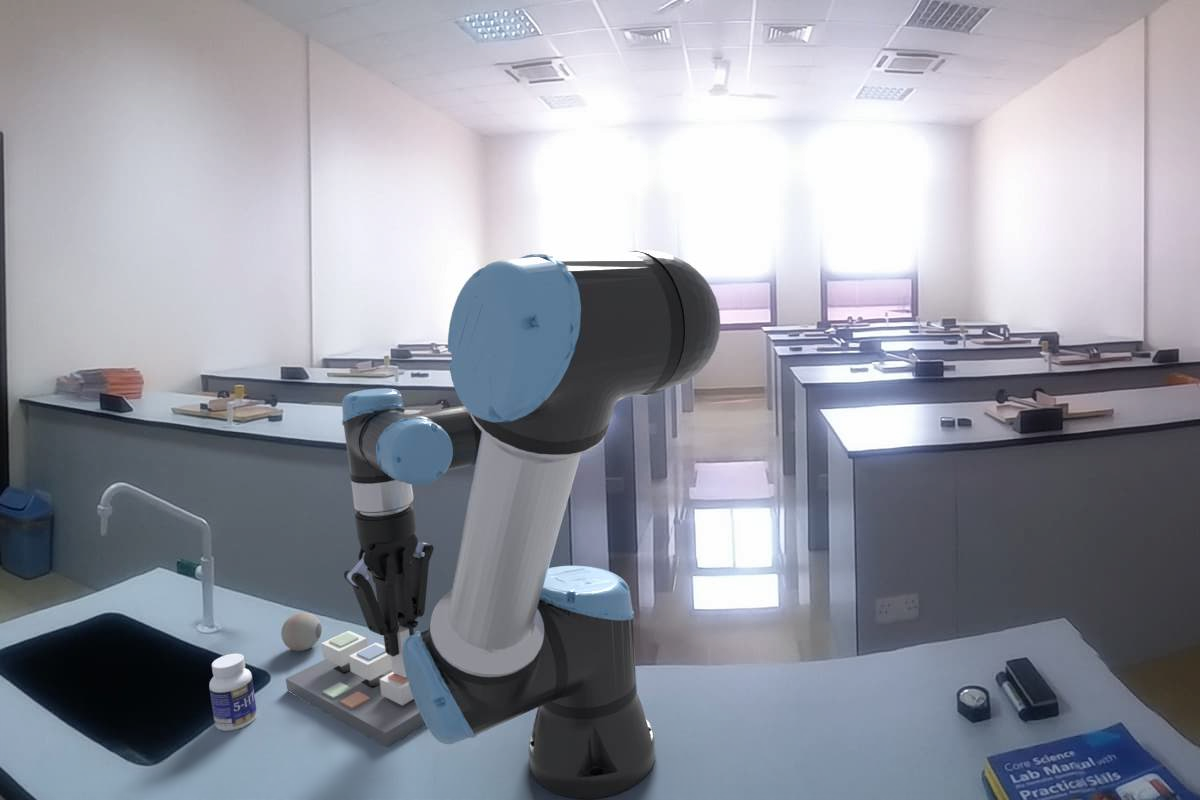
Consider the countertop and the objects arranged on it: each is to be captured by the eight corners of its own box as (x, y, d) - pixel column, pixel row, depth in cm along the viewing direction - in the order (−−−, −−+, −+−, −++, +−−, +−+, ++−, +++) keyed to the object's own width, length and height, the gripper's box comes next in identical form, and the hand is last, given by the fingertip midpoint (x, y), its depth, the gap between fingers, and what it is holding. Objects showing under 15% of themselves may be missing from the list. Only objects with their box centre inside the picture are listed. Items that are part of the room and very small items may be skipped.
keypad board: (459, 702, 106) (457, 687, 106) (387, 747, 97) (385, 730, 97) (358, 655, 121) (356, 642, 121) (287, 691, 112) (285, 676, 112)
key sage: (369, 665, 114) (366, 636, 114) (342, 679, 111) (338, 649, 110) (352, 657, 117) (348, 628, 116) (325, 670, 114) (321, 641, 113)
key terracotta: (431, 702, 106) (427, 671, 105) (403, 719, 102) (400, 687, 102) (410, 692, 109) (406, 662, 108) (383, 708, 105) (379, 677, 104)
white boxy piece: (398, 679, 110) (395, 649, 109) (371, 694, 106) (367, 663, 106) (379, 670, 113) (376, 640, 112) (352, 684, 109) (348, 654, 109)
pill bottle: (241, 733, 102) (231, 671, 101) (206, 730, 103) (196, 670, 102) (265, 710, 107) (256, 651, 106) (232, 708, 109) (223, 650, 107)
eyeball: (315, 656, 122) (310, 621, 121) (277, 658, 122) (272, 623, 121) (329, 638, 128) (324, 605, 127) (292, 640, 128) (288, 607, 127)
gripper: (406, 490, 108) (423, 645, 112) (323, 517, 98) (345, 686, 102) (441, 497, 103) (457, 659, 107) (358, 526, 93) (379, 704, 97)
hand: (403, 672), depth 105 cm, fingers closed
